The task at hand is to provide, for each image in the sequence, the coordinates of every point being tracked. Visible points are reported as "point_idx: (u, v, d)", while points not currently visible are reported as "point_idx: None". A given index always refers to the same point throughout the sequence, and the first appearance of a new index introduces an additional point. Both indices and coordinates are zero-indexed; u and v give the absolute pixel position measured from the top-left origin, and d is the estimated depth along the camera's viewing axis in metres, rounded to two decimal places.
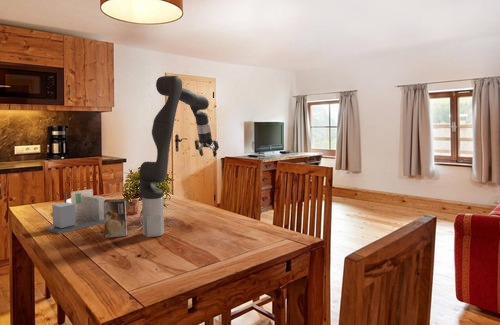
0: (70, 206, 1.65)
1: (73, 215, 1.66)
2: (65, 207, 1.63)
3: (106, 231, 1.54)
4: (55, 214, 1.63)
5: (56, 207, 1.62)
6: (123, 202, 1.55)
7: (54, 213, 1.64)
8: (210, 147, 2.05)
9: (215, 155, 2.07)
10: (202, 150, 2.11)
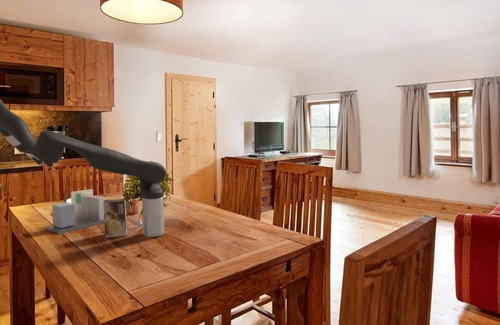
0: (70, 206, 1.65)
1: (73, 215, 1.66)
2: (65, 207, 1.63)
3: (106, 231, 1.54)
4: (55, 214, 1.63)
5: (56, 207, 1.62)
6: (123, 202, 1.55)
7: (54, 213, 1.64)
8: (37, 158, 1.51)
9: (49, 166, 1.55)
10: None
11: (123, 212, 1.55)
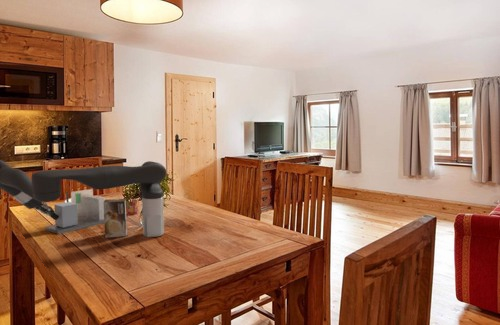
0: (72, 206, 1.66)
1: (75, 215, 1.67)
2: (67, 207, 1.64)
3: (106, 231, 1.54)
4: (57, 214, 1.64)
5: (58, 207, 1.63)
6: (123, 202, 1.55)
7: (56, 213, 1.65)
8: (44, 213, 1.58)
9: (55, 218, 1.62)
10: None
11: (123, 212, 1.55)
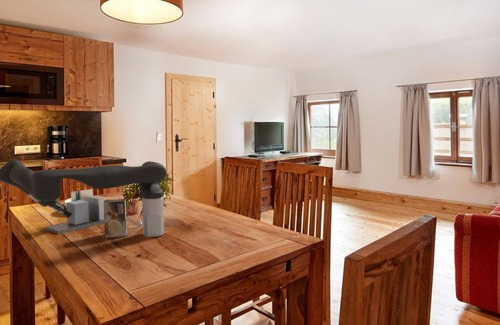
0: (84, 203, 1.70)
1: (87, 212, 1.72)
2: (79, 204, 1.68)
3: (106, 231, 1.54)
4: (69, 211, 1.69)
5: (70, 204, 1.68)
6: (123, 202, 1.55)
7: (68, 210, 1.70)
8: (57, 210, 1.63)
9: (68, 216, 1.67)
10: (66, 210, 1.67)
11: (123, 212, 1.55)
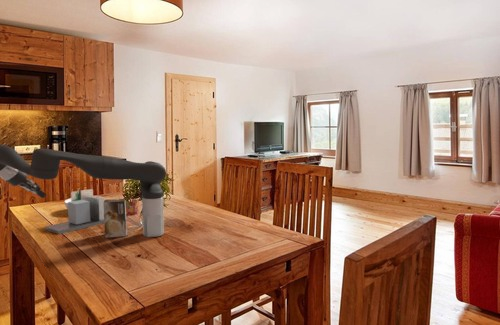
0: (85, 203, 1.71)
1: (88, 212, 1.72)
2: (80, 204, 1.69)
3: (106, 231, 1.54)
4: (71, 211, 1.70)
5: (72, 204, 1.69)
6: (123, 202, 1.55)
7: (70, 210, 1.70)
8: (30, 190, 1.52)
9: (42, 196, 1.56)
10: (40, 190, 1.56)
11: (123, 212, 1.55)
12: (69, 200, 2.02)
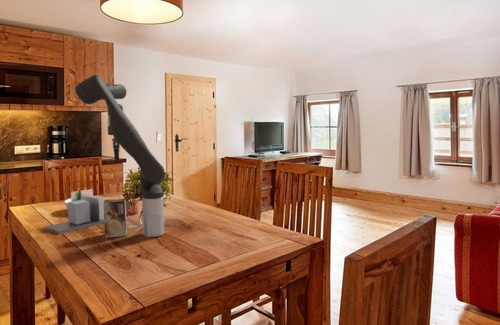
0: (85, 203, 1.71)
1: (88, 212, 1.72)
2: (80, 204, 1.69)
3: (106, 231, 1.54)
4: (71, 211, 1.70)
5: (72, 204, 1.69)
6: (123, 202, 1.55)
7: (70, 210, 1.70)
8: None
9: (115, 158, 1.73)
10: (118, 154, 1.75)
11: (123, 212, 1.55)
12: (69, 200, 2.03)
